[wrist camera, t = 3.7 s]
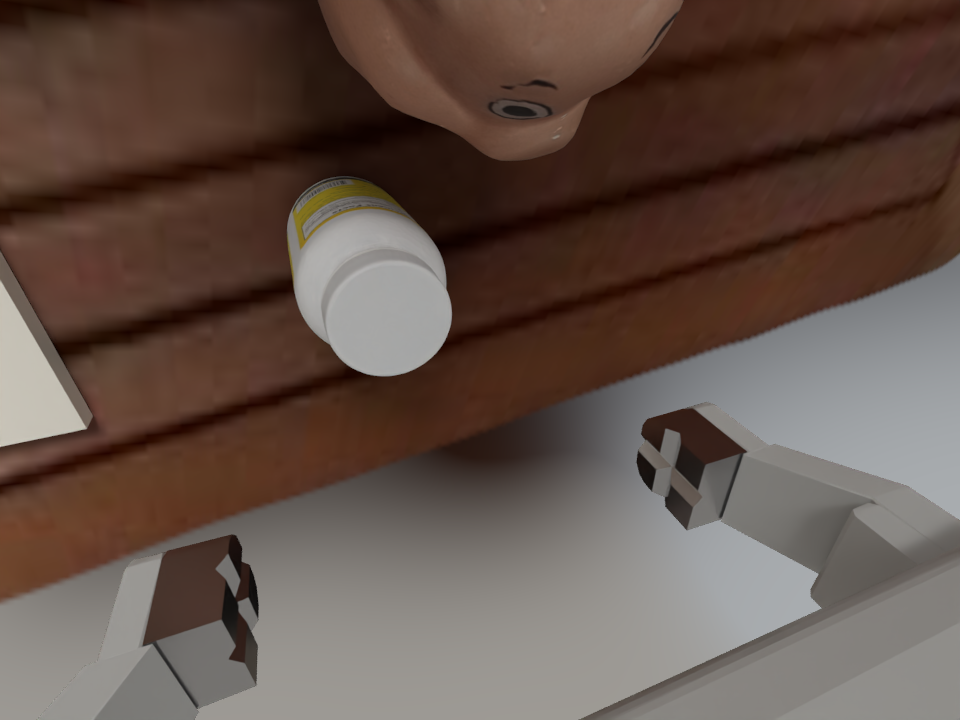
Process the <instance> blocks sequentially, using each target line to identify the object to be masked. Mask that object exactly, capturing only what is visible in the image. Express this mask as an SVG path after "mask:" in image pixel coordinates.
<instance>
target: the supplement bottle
mask: <svg viewBox="0 0 960 720" xmlns="http://www.w3.org/2000/svg"><path fill="white" fill-rule="evenodd" d="M287 243H288V251H289V257H290V264H291V271H292V278H293V285H294V292H295V297H296V300H297V304H298V307H299V309H300V312H301V314H302V316H303V318H304V319H305V321H306V323H307V324H308V326H309V327H310V328H311V329H312V330H313V331H314V333H315V334H317V335H318V336H319V337H320V338H321V339H322V340H324V341H325V342H327V343H328V344H330V345H331V347H332V349H333V350H334V352H335V353H336V354H337V356H338V357H339V358H340V359H341V360H342V361H343V362H344V363H346V364H347V365H348V366H350V367H351V368H353V369H355V370H357V371H360V372H362V373H365V374H369V375H374V376H394V375H399V374H403V373H406V372H409V371H412V370H414V369H416V368H418V367H420V366H421V365H423V364H424V363H426V362H427V361H428V360H429V359H431V358H432V357H433V356H434V355H435V354H436V353H437V351H438V350H439V349H440V348H441V346H442V345H443V343H444V341H445V340H446V337H447V335H448V332H449V329H450V326H451V320H452V308H451V302H450V298H449V295H448V292H447V290H446V271H445V266H444V263H443V259H442V257H441V255H440V252H439V250H438V249H437V247H436V245H435V244H434V242H433V241H432V239H431V238H430V237H429V235H428V234H427V233H426V232H425V231H424V230H423V229H422V228H421V227H420V226H419V225H418V224H417V223H416V222H415V220H414V219H413V218H412V217H411V216H410V215H409V214H408V213H407V212H406V211H405V210H404V209H403V208H402V207H401V206H400V205H399V204H398V203H397V202H396V201H395V200H394V199H393V198H392V197H391V196H390V195H389V194H388V193H386V192H385V191H384V190H383V189H381V188H380V187H378V186H377V185H375V184H373V183H371V182H369V181H366V180H363V179H360V178H356V177H349V176H340V177H332V178H328V179H325V180H322V181H320V182H318V183H316V184H314V185H313V186H311V187H310V188H308V189H307V190H306V191H305V192H304V193H303V194H302V195H301V196H300V197H299V198H298V200H297V201H296V203H295V204H294V206H293V208H292V210H291V213H290V216H289V219H288V225H287Z"/></svg>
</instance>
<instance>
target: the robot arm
mask: <svg viewBox="0 0 960 720" xmlns="http://www.w3.org/2000/svg"><path fill="white" fill-rule="evenodd" d="M641 435H642V436H643V438H644V439H645V442H644V443H643V444H642V446H641V447H640V448H639V450H638V454H637V466H638V470H639V474H640V476H641V478H642V480H643V481H644V483H645V484H646V485H647V487H648V488H649V489H650V490H651V491H652V492H654V493H656V494H659V495H661V496H663V497H665V507H666V508H667V509H668V510H669V511H670V512H671V513H672V514H673V516H674V517H675V518H676V519H677V520H678V521H679V522H680V523H681V524H682V525H683V526H684V528H685V529H686V530H689V529H693V528H695V527H699V526H702V525H705V524H708V523H711V522H714V521H717V520H720V519H722V520H721V522H723V523H725V524H727V525H729V526H731V527H732V528H734V529H736V530H738V531H740V532H742V533H744V534H745V535H748V536H749V537H751V538H753V539H755V540H757V541H759V542H760V543H762V544H764V545H766V546H768V547H770V548H772V549H774V550H775V551H777V552H779V553H781V554H783V555H785V556H787V557H788V558H790V559H793V560H794V561H796V562H798V563H800V564H802V565H803V566H805V567H807V568H809V569H811V570H813V571H815V572H816V573H818V574H819V575H818V577H817V578H816V580H815V582H814V584H813V586H812V588H811V598H812V599H813V600H815V602H816V603H817V604H818V605H819V606H820V607H821V608H822V609H820V610H818V611H816V612H813V613H811V614H809V615H807V616H805V617H802V618H800V619H798V620H796V621H794V622H792V623H789V624H787V625H785V626H783V627H780V628H778V629H776V630H774V631H772V632H770V633H767V634H765V635H763V636H761V637H759V638H756V639H754V640H752V641H750V642H748V643H746V644H743V645H741V646H739V647H737V648H735V649H732V650H730V651H728V652H726V653H724V654H721V655H719V656H717V657H715V658H713V659H711V660H708V661H706V662H704V663H702V664H700V665H697V666H695V667H693V668H691V669H689V670H687V671H684V672H682V673H680V674H678V675H676V676H673V677H671V678H669V679H667V680H665V681H663V682H660V683H658V684H656V685H654V686H652V687H649V688H647V689H645V690H643V691H641V692H638V693H636V694H634V695H632V696H630V697H628V698H625V699H623V700H621V701H619V702H617V703H614V704H612V705H610V706H608V707H606V708H603V709H601V710H599V711H597V712H595V713H593V714H591V715H588V716H586V717H584V718H582V719H580V720H960V520H959V519H957V518H955V517H954V516H952V515H951V514H949V513H948V512H946V511H945V510H943V509H942V508H940V507H939V506H937V505H936V504H934V503H933V502H931V501H930V500H928V499H927V498H925V497H924V496H922V495H921V494H919V493H917V492H916V491H914V490H913V489H911V488H910V487H908V486H906V485H903V484H900V483H896V482H893V481H890V480H887V479H884V478H880V477H878V476H874V475H871V474H868V473H865V472H862V471H858V470H855V469H852V468H849V467H846V466H843V465H839V464H836V463H833V462H830V461H827V460H824V459H820V458H817V457H814V456H811V455H808V454H805V453H802V452H798V451H795V450H792V449H789V448H786V447H783V446H779V445H776V444H773V445H770V446H769V445H767V444H766V443H765V442H763V441H762V440H761V439H759V438H758V437H756V436H755V435H754V434H753V433H752V432H750V431H749V430H748V429H746V428H745V427H744V426H742V425H741V424H740V423H738V422H737V421H736V420H734V419H733V418H732V417H730V416H729V415H727V414H726V413H725V412H724V411H722V410H721V409H720V408H718V407H717V406H716V405H714V404H711V403H708V402H705V403H701V404H698V405H694V406H691V407H687V408H686V409H681V410H677V411H674V412H670V413H667V414H663V415H660V416H656V417H653V418H649V419H647V420H646V422H645V423H644V424H643V427H642V432H641ZM258 606H259V605H258V595H257V586H256V583H255V579H254V575H253V572H252V570H251V567H250V565H248V564H246V563H243V562H242V546H241V544H240V542H239V540H238V538H237V536H236V535H228V536H224V537H220V538H216V539H212V540H208V541H204V542H200V543H196V544H192V545H189V546H185V547H181V548H177V549H173V550H169V551H167V552H164V553H160V554H156V555H152V556H148V557H144V558H140V559H136V560H132V561H131V562H130V563H129V565H128V566H127V567H126V569H125V570H124V573H123V576H122V580H121V583H120V587H119V590H118V593H117V596H116V600H115V603H114V606H113V610H112V613H111V616H110V620H109V623H108V626H107V629H106V633H105V636H104V639H103V643H102V646H101V649H100V653H99V656H98V659H97V662H94V663H91V664H88V665H85V666H84V667H83V668H82V669H81V671H80V672H79V673H78V674H77V675H76V676H75V677H74V678H73V680H72V681H71V682H70V683H69V684H68V685H67V686H66V687H65V689H64V690H63V691H62V692H61V693H60V694H59V695H58V696H57V698H56V699H55V700H54V701H53V702H52V703H51V704H50V705H49V707H48V708H47V709H46V710H45V711H44V712H43V713H42V714H41V716H40V717H39V718H38V719H37V720H195V718H196V716H197V714H198V710H197V709H198V708H201V707H203V706H206V705H208V704H211V703H214V702H216V701H219V700H221V699H224V698H226V697H229V696H232V695H234V694H237V693H239V692H242V691H244V690H247V689H249V688H252V687H255V686H256V681H257V680H256V679H257V650H258V645H257V643H256V641H255V639H254V636H253V634H252V632H251V630H252V629H253V628H254V626H255V624H256V623H257V621H258V610H259V607H258Z"/></svg>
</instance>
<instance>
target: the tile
mask: <svg viewBox="0 0 960 720" xmlns="http://www.w3.org/2000/svg"><path fill="white" fill-rule="evenodd" d="M92 417H93V415H92V413H91V411H90V410H89V408H88V406H87V404H86V403H85V401H84V399H83V397H82V395H81V394H80V392H79V390H78V388H77V386H76V385H75V383H74V381H73V379H72V378H71V376H70V374H69V372H68V370H67V369H66V367H65V365H64V363H63V362H62V360H61V358H60V356H59V354H58V353H57V351H56V349H55V347H54V346H53V344H52V342H51V340H50V338H49V337H48V335H47V333H46V331H45V329H44V328H43V326H42V324H41V322H40V321H39V319H38V317H37V315H36V313H35V312H34V310H33V308H32V306H31V305H30V303H29V301H28V299H27V297H26V296H25V294H24V292H23V290H22V289H21V287H20V285H19V283H18V281H17V280H16V278H15V276H14V274H13V273H12V271H11V269H10V267H9V265H8V264H7V262H6V260H5V258H4V256H3V255H2V253H1V251H0V447H2V446H6V445H11V444H16V443H21V442H26V441H31V440H36V439H40V438H45V437H50V436H55V435H60V434H65V433H69V432H74V431H79V430H84V429H87V427H88V425H89V423H90V421H91V419H92Z"/></svg>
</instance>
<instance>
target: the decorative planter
mask: <svg viewBox="0 0 960 720" xmlns="http://www.w3.org/2000/svg"><path fill="white" fill-rule="evenodd" d="M317 1H318V3H319V5H320V8H321V11H322V14H323V17H324V19H325V22H326V24H327V27H328V30H329V32H330V35H331V37H332V39H333V41H334V43H335V45H336V47H337V49H338V51H339V53H340V54H341V55H342V56H343V57H344V59H345V60H346V61H347V62H348V63H349V64H350V65H351V66H352V67H353V68H354V69H355V70H356V71H358V72H359V73H360V74H361V75H362V76H363V77H364V78H365V79H366V80H367V81H368V82H369V83H370V84H371V85H372V86H373V88H374V89H375V90H376V91H377V92H378V93H379V95H380V96H381V97H382V98H383V99H384V100H385V101H386V102H387V103H388V104H389V105H390V106H391V107H393V108H395V109H397V110H399V111H401V112H403V113H405V114H408V115H410V116H413V117H416V118H418V119H421V120H424V121H427V122H430V123H433V124H436V125H439V126H441V127H443V128H446V129H448V130H450V131H452V132H454V133H456V134H457V135H459V136H461V137H462V138H464V139H465V140H466V141H467V142H469V143H470V144H471V145H473V146H474V147H475V148H477V149H478V150H479V151H481V152H482V153H483V154H485V155H487V156H489V157H491V158H493V159H497V160H500V161H521V160H529V159H533V158H536V157H540V156H543V155H547V154H550V153H553V152H556V151H558V150H560V149H561V148H563V147H565V146H566V144H567V143H568V142H569V141H570V140H571V139H572V138H573V136H574V134H575V132H576V130H577V128H578V126H579V123H580V121H581V118H582V116H583V113H584V110H585V108H586V105H587V103H588V101H589V99H590V98H591V96H593V95H595V94H597V93H599V92H601V91H603V90H605V89H607V88H609V87H612V86H614V85H616V84H617V83H619V82H620V81H622V80H624V79H625V78H627V77H628V76H630V75H631V74H632V73H633V72H634V71H635V70H637V69H638V68H639V67H640V66H641V65H642V64H643V63H644V62H645V61H646V60H647V59H648V57H649V56H650V55H651V54H652V53H653V51H654V50H655V49H656V48H657V47H658V45H659V44H660V42H661V41H662V39H663V37H664V36H665V34H666V33H667V31H668V30H669V28H670V26H671V25H672V23H673V21H674V19H675V17H676V15H677V14H678V12H679V10H680V8H681V5H682V3H683V1H684V0H317Z"/></svg>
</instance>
